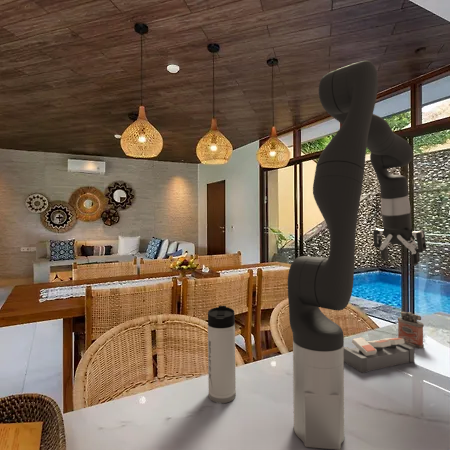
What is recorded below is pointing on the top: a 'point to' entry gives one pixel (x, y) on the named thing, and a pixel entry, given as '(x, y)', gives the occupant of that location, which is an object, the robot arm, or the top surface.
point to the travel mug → (221, 354)
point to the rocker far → (394, 340)
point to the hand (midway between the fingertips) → (400, 262)
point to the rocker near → (364, 346)
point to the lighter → (411, 329)
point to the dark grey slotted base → (379, 357)
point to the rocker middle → (379, 343)
